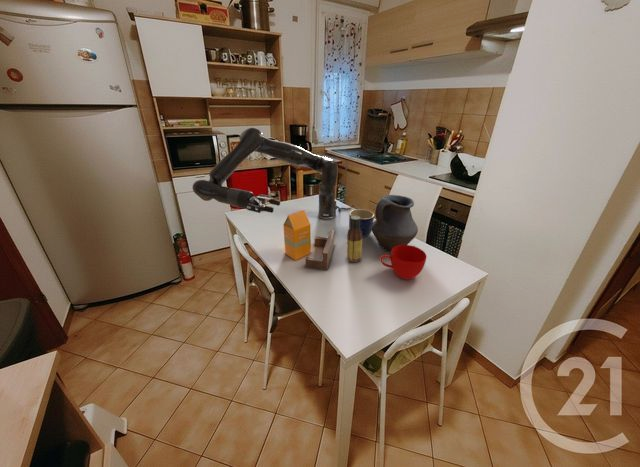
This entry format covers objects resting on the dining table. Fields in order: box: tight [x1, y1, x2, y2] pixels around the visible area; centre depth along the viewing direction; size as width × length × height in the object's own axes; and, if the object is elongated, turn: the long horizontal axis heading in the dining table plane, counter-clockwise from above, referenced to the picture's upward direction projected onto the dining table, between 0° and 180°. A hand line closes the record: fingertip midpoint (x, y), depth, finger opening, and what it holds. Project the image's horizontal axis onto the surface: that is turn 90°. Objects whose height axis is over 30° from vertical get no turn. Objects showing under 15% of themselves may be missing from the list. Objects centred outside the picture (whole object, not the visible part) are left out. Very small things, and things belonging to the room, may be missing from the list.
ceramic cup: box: [379, 244, 428, 280], centre depth 103 cm, size 13×17×10 cm
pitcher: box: [371, 194, 419, 252], centre depth 118 cm, size 21×22×25 cm
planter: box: [348, 208, 375, 238], centre depth 133 cm, size 12×12×11 cm
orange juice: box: [283, 209, 312, 261], centre depth 114 cm, size 8×9×20 cm
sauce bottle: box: [346, 216, 363, 263], centre depth 110 cm, size 7×6×20 cm
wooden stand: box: [305, 230, 336, 271], centre depth 115 cm, size 9×20×8 cm, turn 169°
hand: (276, 206), depth 110 cm, fingers open, 8 cm apart
